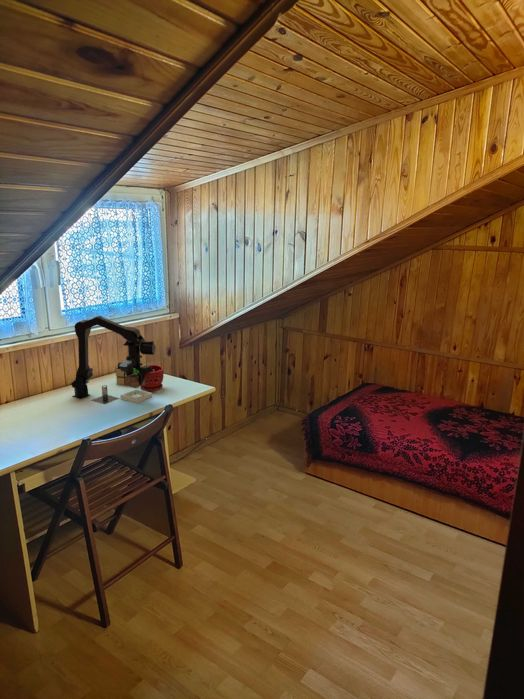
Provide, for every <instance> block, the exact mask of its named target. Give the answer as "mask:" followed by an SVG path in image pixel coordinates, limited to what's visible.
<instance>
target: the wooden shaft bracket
mask: <svg viewBox="0 0 524 699" xmlns="http://www.w3.org/2000/svg"><path fill="white" fill-rule="evenodd" d="M143 385H145V378H144V380H143V383H142V385H140V384H139V376H138V375H137V373H134V374H131V375H128V376H126V385H125V387H129V388H132V389H138V388H141V386H143Z"/></svg>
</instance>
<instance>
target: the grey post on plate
mask: <svg viewBox="0 0 524 699" xmlns="http://www.w3.org/2000/svg"><path fill="white" fill-rule="evenodd" d="M101 394H102V395H101V396H98V397H95V398H93V399H91V400H90V401H91V402H93V403H99V404H103V405H107V404H109V403H112V402H114V401H117V400H121V397H116V396H113V395H109V393H108V385H105V384H103V385H102V386H101Z"/></svg>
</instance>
